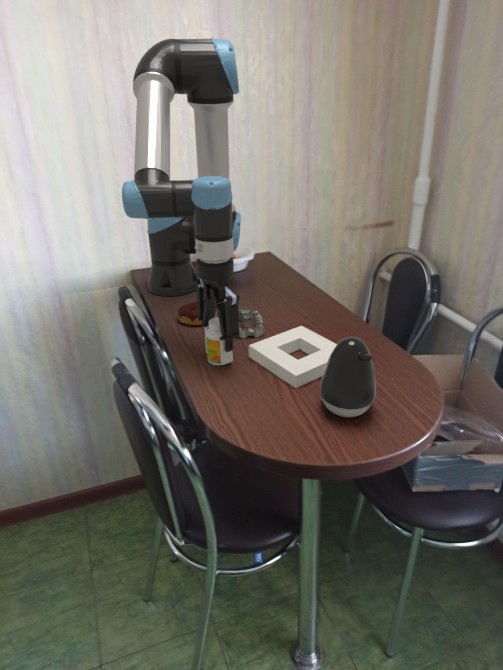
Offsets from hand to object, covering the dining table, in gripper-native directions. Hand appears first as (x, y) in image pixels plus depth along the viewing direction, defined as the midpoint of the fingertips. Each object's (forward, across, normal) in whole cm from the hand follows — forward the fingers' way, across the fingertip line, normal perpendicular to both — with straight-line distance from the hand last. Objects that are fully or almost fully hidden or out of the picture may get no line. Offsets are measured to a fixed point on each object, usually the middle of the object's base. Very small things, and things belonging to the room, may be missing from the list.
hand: (219, 356), depth 107 cm
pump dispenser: (+1, +30, +9) cm, 31 cm away
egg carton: (+1, -9, +14) cm, 17 cm away
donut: (+1, -21, +7) cm, 22 cm away
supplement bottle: (+1, 0, 0) cm, 1 cm away
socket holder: (+1, +11, +14) cm, 18 cm away
